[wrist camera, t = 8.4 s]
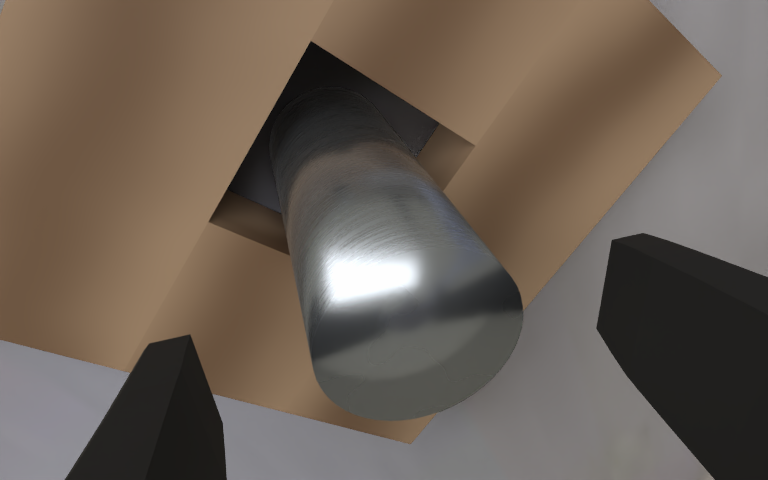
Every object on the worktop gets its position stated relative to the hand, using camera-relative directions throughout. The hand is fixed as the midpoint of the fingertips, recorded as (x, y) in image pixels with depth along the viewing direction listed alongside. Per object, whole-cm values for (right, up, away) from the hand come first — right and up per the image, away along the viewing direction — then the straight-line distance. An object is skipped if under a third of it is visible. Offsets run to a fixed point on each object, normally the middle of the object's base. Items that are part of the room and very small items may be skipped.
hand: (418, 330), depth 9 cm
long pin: (-2, +4, +7) cm, 9 cm away
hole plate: (-2, +4, +7) cm, 9 cm away
